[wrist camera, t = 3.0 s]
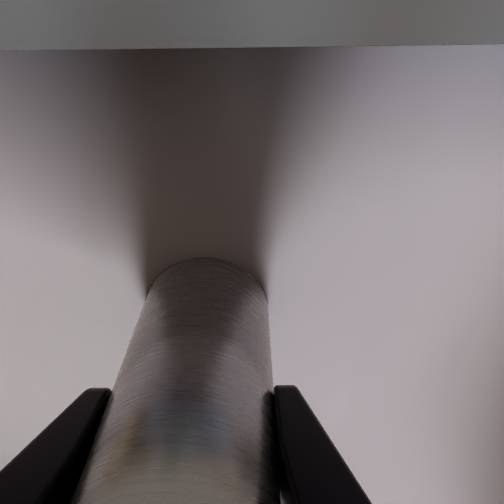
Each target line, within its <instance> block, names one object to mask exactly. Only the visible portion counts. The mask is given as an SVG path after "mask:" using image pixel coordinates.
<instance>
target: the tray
mask: <svg viewBox="0 0 504 504" xmlns="http://www.w3.org/2000/svg"><path fill="white" fill-rule="evenodd" d="M476 44H504V0H0V51H18V50H94V49H171V48H247V47H323V46H400V45H476Z"/></svg>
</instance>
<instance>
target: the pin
mask: <svg viewBox="0 0 504 504" xmlns="http://www.w3.org/2000/svg"><path fill="white" fill-rule="evenodd" d="M70 504H281V497H280V482H279V468H278V457H277V443H276V428H275V413H274V398H273V377H272V362H271V348H270V333H269V318H268V303H267V299H266V296H265V293H264V291H263V289H262V287H261V286H260V284H259V283H258V282H257V281H256V279H255V278H254V277H253V276H252V275H251V274H249V273H248V272H247V271H245V270H244V269H242V268H240V267H239V266H237V265H235V264H232V263H230V262H227V261H223V260H218V259H212V258H198V259H191V260H186V261H183V262H180V263H177V264H175V265H173V266H171V267H170V268H168V269H166V270H165V271H164V272H163V273H161V274H160V275H159V276H158V277H157V279H156V280H155V281H154V283H153V284H152V286H151V288H150V290H149V293H148V295H147V298H146V301H145V303H144V306H143V309H142V312H141V314H140V317H139V320H138V322H137V325H136V328H135V330H134V333H133V336H132V339H131V341H130V344H129V347H128V349H127V352H126V355H125V357H124V360H123V363H122V366H121V368H120V371H119V374H118V376H117V379H116V382H115V384H114V387H113V390H112V393H111V395H110V398H109V401H108V403H107V406H106V409H105V411H104V414H103V417H102V420H101V422H100V425H99V428H98V430H97V433H96V436H95V438H94V441H93V444H92V447H91V449H90V452H89V455H88V457H87V460H86V463H85V465H84V468H83V471H82V474H81V476H80V479H79V482H78V484H77V487H76V490H75V492H74V495H73V498H72V501H71V503H70Z"/></svg>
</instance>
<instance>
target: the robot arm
mask: <svg viewBox="0 0 504 504" xmlns="http://www.w3.org/2000/svg"><path fill="white" fill-rule="evenodd" d="M111 393H112V391H111V390H110V389H109V388H89V389H87V390H85V391H84V392H83V393H82V394H81V395H80V396H79V397H78V398H77V399H76V400H75V401H74V402H73V403H72V404H70V405H69V406H68V407H67V408H66V409H65V410H64V411H63V412H62V413H61V414H60V415H59V416H58V417H57V418H56V419H55V420H54V421H53V422H52V423H51V424H49V425H48V426H47V427H46V428H45V429H44V430H43V431H42V432H41V433H40V434H39V435H38V436H37V437H36V438H35V439H34V440H33V441H32V442H31V443H29V444H28V445H27V446H26V447H25V448H24V449H23V450H22V451H21V452H20V453H19V454H18V455H17V456H16V457H15V458H14V459H13V460H12V461H11V462H10V463H8V464H7V465H6V466H5V467H4V468H3V469H2V470H1V471H0V504H70V503H71V501H72V498H73V495H74V492H75V490H76V487H77V484H78V482H79V479H80V476H81V474H82V471H83V468H84V465H85V463H86V460H87V457H88V455H89V452H90V449H91V447H92V444H93V441H94V438H95V436H96V433H97V430H98V428H99V425H100V422H101V420H102V417H103V414H104V411H105V409H106V406H107V403H108V401H109V398H110V395H111ZM273 398H274V413H275V428H276V443H277V457H278V468H279V482H280V497H281V504H372V503H371V502H370V500H369V498H368V497H367V495H366V494H365V492H364V491H363V489H362V488H361V486H360V484H359V483H358V481H357V480H356V478H355V477H354V475H353V474H352V472H351V470H350V469H349V467H348V466H347V464H346V463H345V461H344V460H343V458H342V456H341V455H340V453H339V452H338V450H337V449H336V447H335V446H334V444H333V442H332V441H331V439H330V438H329V436H328V435H327V433H326V432H325V430H324V428H323V427H322V425H321V424H320V422H319V421H318V419H317V418H316V416H315V415H314V413H313V411H312V410H311V408H310V407H309V405H308V404H307V402H306V401H305V399H304V397H303V396H302V394H301V393H300V391H299V390H298V388H297V387H296V386H294V385H277V386H275V387H274V390H273Z"/></svg>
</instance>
